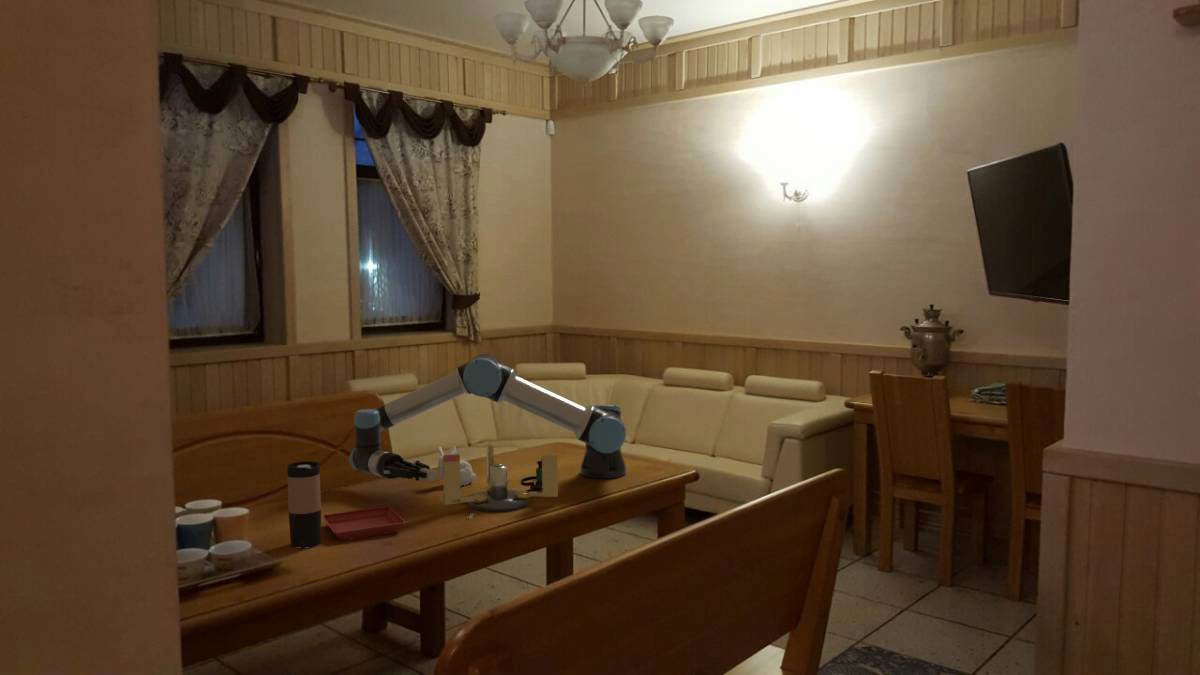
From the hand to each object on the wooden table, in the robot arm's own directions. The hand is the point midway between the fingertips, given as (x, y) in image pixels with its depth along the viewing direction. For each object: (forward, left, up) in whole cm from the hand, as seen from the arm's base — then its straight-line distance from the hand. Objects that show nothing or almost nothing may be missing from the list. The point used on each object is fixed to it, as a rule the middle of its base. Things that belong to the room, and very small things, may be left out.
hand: (436, 476), depth 249 cm
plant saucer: (+9, +24, -10) cm, 28 cm away
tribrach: (-19, -7, -9) cm, 22 cm away
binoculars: (-22, -23, -9) cm, 33 cm away
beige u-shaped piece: (-9, +1, -7) cm, 12 cm away
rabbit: (+7, -26, -9) cm, 29 cm away
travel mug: (+16, +39, -9) cm, 43 cm away
